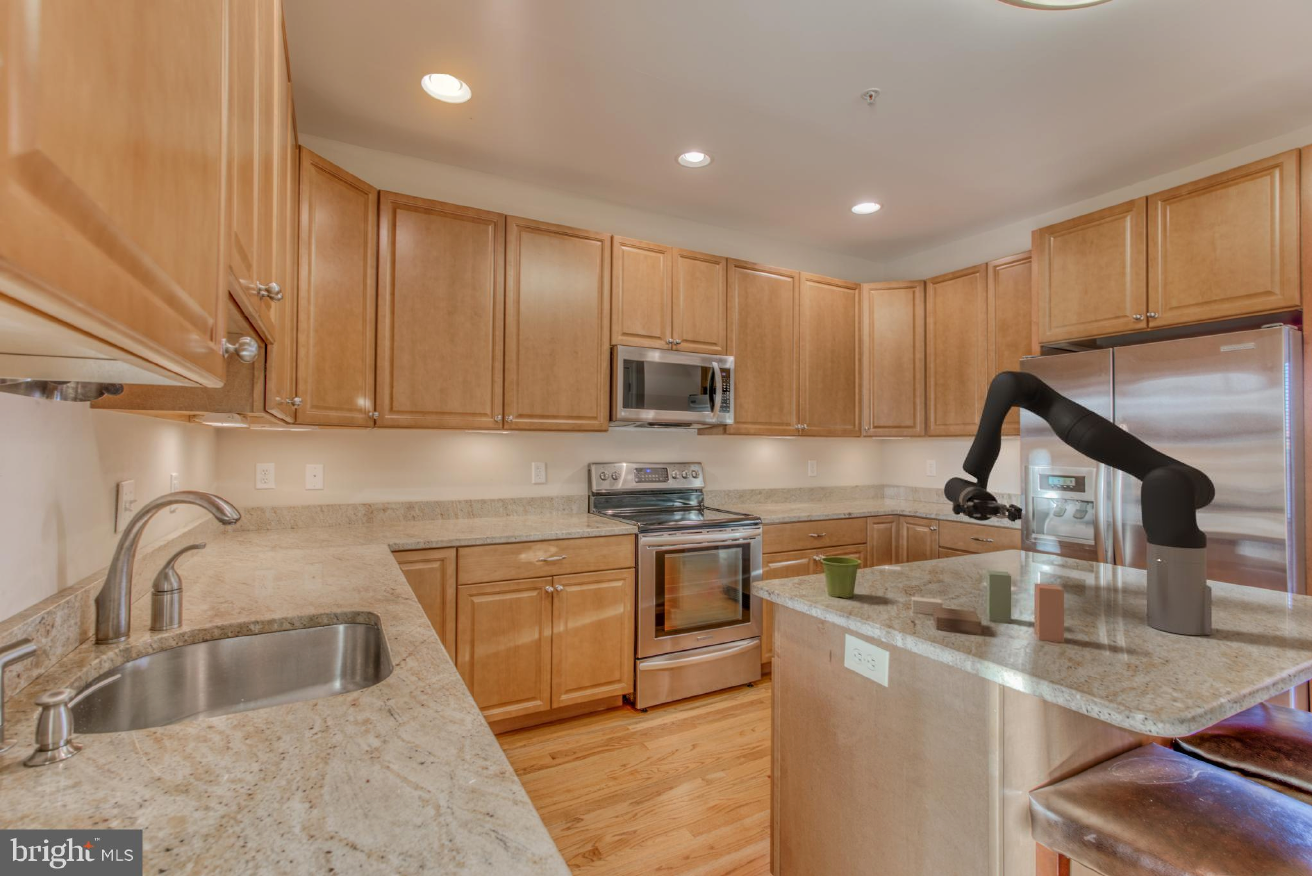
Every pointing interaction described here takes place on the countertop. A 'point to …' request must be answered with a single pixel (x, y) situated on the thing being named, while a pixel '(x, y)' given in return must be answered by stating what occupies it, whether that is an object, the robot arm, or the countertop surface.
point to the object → (840, 575)
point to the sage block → (998, 596)
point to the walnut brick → (957, 620)
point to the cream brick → (925, 605)
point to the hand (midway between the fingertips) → (992, 515)
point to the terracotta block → (1049, 612)
